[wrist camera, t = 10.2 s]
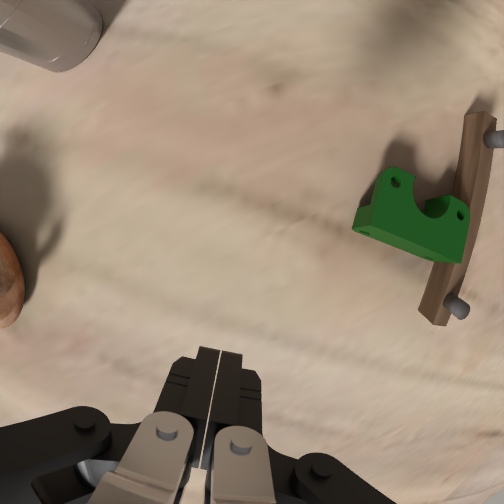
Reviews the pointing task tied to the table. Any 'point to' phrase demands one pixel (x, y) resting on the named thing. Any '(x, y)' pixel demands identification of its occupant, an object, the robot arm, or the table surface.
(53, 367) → the table surface
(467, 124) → the bar
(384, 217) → the clamp
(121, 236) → the table surface
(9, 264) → the ceramic jug
